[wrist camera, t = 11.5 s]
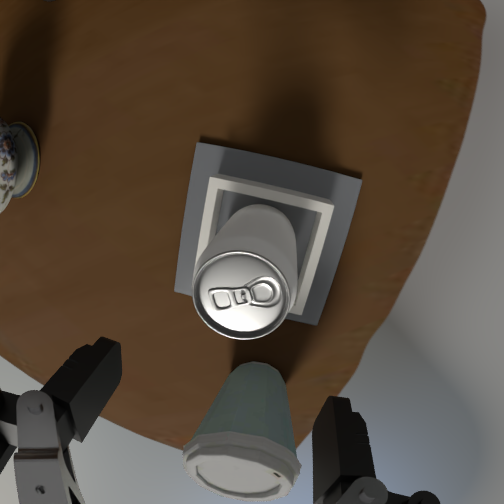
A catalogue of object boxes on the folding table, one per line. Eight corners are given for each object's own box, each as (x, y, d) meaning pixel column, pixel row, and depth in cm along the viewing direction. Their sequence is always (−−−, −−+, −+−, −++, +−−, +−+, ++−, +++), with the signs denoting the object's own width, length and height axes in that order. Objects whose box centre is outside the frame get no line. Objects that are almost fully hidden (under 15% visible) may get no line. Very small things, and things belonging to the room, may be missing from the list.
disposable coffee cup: (248, 418, 37) (231, 513, 23) (192, 367, 35) (151, 466, 21) (317, 386, 34) (323, 493, 20) (263, 327, 32) (244, 440, 18)
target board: (198, 142, 27) (186, 141, 24) (360, 179, 26) (370, 184, 23) (176, 288, 32) (164, 304, 29) (316, 322, 32) (319, 342, 28)
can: (301, 264, 29) (307, 337, 18) (234, 276, 30) (203, 350, 19) (287, 196, 27) (285, 232, 16) (217, 211, 28) (170, 255, 17)
